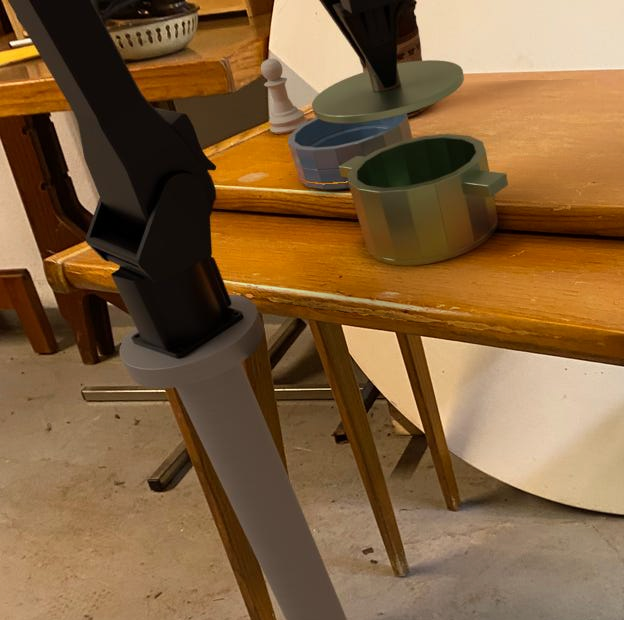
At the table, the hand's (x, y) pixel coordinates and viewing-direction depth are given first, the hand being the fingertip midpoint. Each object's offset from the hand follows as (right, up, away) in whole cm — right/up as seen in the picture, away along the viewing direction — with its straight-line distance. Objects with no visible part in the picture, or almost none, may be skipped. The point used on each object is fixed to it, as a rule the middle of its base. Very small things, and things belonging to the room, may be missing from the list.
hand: (385, 82), depth 75 cm
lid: (0, -1, +1) cm, 1 cm away
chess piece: (-15, +10, +37) cm, 41 cm away
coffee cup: (-1, +11, +33) cm, 35 cm away
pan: (-5, 0, +21) cm, 21 cm away
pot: (+4, -11, +5) cm, 13 cm away
